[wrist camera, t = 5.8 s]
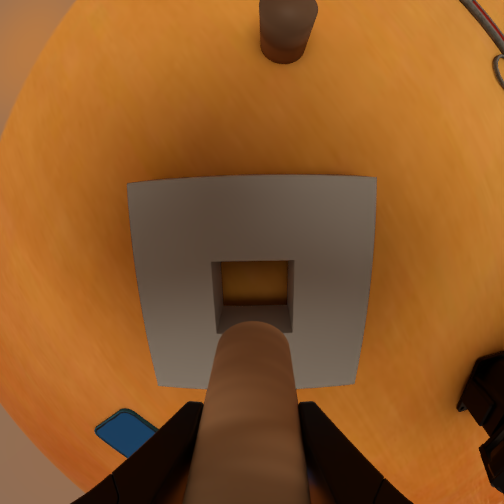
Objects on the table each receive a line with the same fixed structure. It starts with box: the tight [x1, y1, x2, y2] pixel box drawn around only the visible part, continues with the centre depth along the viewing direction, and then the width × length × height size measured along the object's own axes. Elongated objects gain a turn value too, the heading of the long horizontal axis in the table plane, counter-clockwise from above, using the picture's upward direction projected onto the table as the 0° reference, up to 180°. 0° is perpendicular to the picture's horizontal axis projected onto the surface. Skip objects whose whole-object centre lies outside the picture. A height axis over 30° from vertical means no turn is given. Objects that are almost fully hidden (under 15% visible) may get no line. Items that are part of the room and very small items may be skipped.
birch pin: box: [182, 321, 311, 504], centre depth 6 cm, size 3×3×9 cm
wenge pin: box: [259, 0, 318, 64], centre depth 12 cm, size 3×3×5 cm
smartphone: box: [94, 408, 159, 458], centre depth 24 cm, size 7×1×15 cm
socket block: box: [127, 174, 377, 389], centre depth 17 cm, size 12×12×4 cm
